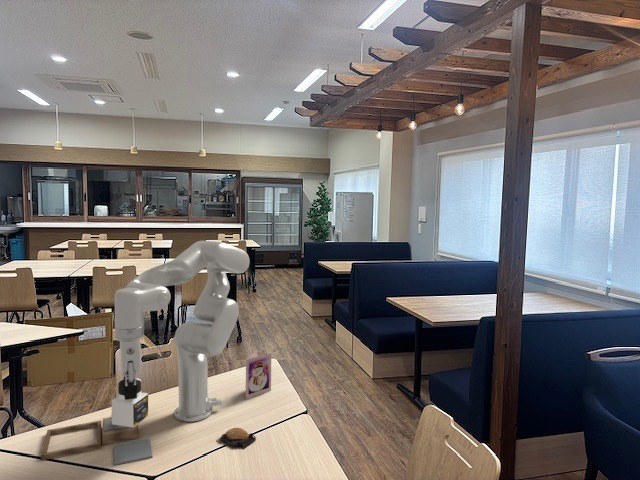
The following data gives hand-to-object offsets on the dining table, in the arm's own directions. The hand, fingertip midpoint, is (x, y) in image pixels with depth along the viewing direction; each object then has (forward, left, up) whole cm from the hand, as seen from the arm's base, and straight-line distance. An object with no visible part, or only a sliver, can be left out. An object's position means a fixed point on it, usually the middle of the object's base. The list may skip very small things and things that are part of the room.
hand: (130, 393), depth 129 cm
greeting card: (-44, -25, -18) cm, 54 cm away
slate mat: (0, 0, -18) cm, 18 cm away
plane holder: (+10, -13, -18) cm, 25 cm away
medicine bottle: (0, 0, -8) cm, 8 cm away
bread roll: (-30, +5, -19) cm, 35 cm away
